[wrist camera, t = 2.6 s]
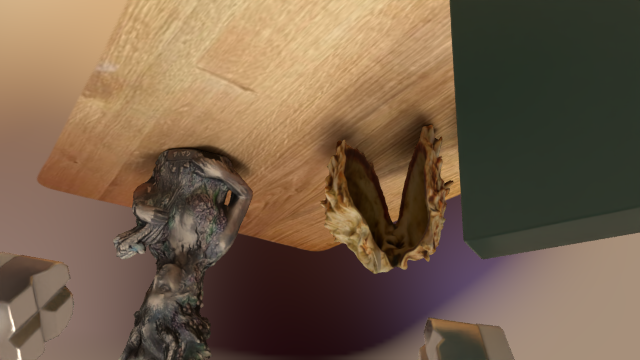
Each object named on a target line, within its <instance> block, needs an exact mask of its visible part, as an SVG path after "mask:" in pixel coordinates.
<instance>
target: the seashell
mask: <svg viewBox="0 0 640 360" xmlns="http://www.w3.org/2000/svg"><path fill="white" fill-rule="evenodd" d="M441 142H442V137H440V139H439V140H438V139H436V138H435V135H434V130H433V125H429V126H423V128H422V131H421V135H420V139H419V142H418V144H417V145H416V147H415V150H414V153H413V156H412V159H411V161H410V163H409V167H408V172H407V176H406V180H405V183H404V188H403V193H402V200H401V206H400V211H399V218H398V221H397V223H396V224H393V222H392V221H391V218H390V216H389V212H388V207H387V205H386V201H385V197H384V195H383V192H382V189H381V187H380V184H379V179H378V177H377V175H376V173H375V170H374V168H373V163H369V162H368V161H367V160H366V158H365V156H364V154H363V153H360V152H359V150H358V149H357V148H356V149H354V148H352V147H350V146H348V145H346V141H345V140H343V142H342V141H341V140H339V141H338V142H337V146H336V153H337V154H336V155H334V156H332V157H331V159H330V162H329V164H328V166H327V167H328V170H329V176H328V177H326V179H325V183H326V187H325V192H326V193H325V194H326V200H324V201H320V202H321V205H322V206H323V207H324V208H325V209H326V212H325V215H326V219H325V224H324V226H325V227H327V228H329V232H330V234H333V237H336V238H335V240H334V242H341V243H346V244H347V246H348V247H349V249H351V250H352V251H353V252H355V254H356V256H357V257H358V259H359V260H360V261H361V262H362V263H363V265H364V266H365V267H366V268H368V269H369V270H370V271H372V272H373V273H378V272H388V271H389V270H391V269H392V268H394V267H401V268H402V269H406V268H407V261H408V260H419V259H422V258H425V259H426V260H427V261H429V255H431V254H433V253H434V252H435V251H436V247H437V246H438V245H439V239H440V234H441V229H442V228H443V223H444V221H445V218H444V217H443V216H444V211H445V209H446V205H447V204H446V201H445V197H446V196H447V195H448V194H449V191H450V188H449V187H450V186H451V185H452V184H453V181H451V180H450V181H448V182H446V183H444V181H443V180H442V179H441V177H440V172H441V166H442V163H443V161H442V159H441V158H442V156H441V157H438V156H439V152H440V147H441Z"/></svg>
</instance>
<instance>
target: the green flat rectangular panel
mask: <svg viewBox="0 0 640 360" xmlns="http://www.w3.org/2000/svg"><path fill="white" fill-rule="evenodd" d="M450 16H451V33H452V50H453V67H454V85H455V102H456V119H457V136H458V153H459V170H460V187H461V204H462V221H463V238H464V242H465V243H467V245H468V246H469V247H470V248H471V249H472V250H473V251H474V252H475V253H476V254H477V255H478V256H479V257H480V258H481V259H488V258H494V257H500V256H506V255H512V254H518V253H523V252H529V251H535V250H540V249H546V248H552V247H558V246H564V245H570V244H576V243H582V242H587V241H593V240H599V239H605V238H610V237H616V236H622V235H627V234H633V233H640V0H450Z"/></svg>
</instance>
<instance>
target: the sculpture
mask: <svg viewBox="0 0 640 360" xmlns="http://www.w3.org/2000/svg"><path fill="white" fill-rule="evenodd" d="M229 190H231V191H232V193H231V198H230V203H229V204H228V206H227V205H224V203H225V199H226V196H227V192H228V191H229ZM252 196H253V191H252V190H251V189H250V187H249V186H248V185H247V184H246V183H245V181H244V180H243V179H242V178H241V177H240V175H239V174H238V173H237V172H236V171H235V169H234V168H233V166H232V164H231V162H230V160H229V159H228V158H227V157H225V156H221V155H217V154H213V153H208V152H204V151H199V150H193V149H174V150H168V151H165V152H163V153H161V154H160V156H159V157H158V160H157V161H156V167H155V168H154V170H153V175H152V177H151V178H150V179H149V180H148V181H147V182H145V183H143V184H142V185H140V186H138V187H137V188H136V190H135V191H134V194H133V205H132V209H133V214H134V215H135V216H136V218H137V219H136V223H137V226H136V227H135V228H133V229H131V230H129V231H126V232H124V233H122V234H119V235H118V236H117V237H116V238H115V239H114V240H113V241H114V246H115V248H116V249H117V257H120V258H121V259H127V258H130V257H131V256H133V255H135V254H136V253H139V254H141V253H145V251H146V247H147V246H148V245H149V250H150V251H151V254H152V255H153V256H154V258H155V259H157V262H156V264H157V274H156V276H155V278H154V280H153V282H152V284H151V286H150V287H149V289H148V291H147V293H146V296H145V299H144V302H143V304H142V306H141V308H140V311H137V312H135V314H134V317H135V323H134V324H135V327H134V329H133V330H132V331H131V334H130V337H129V339H128V342H127V345H126V348H125V349H124V351H123V353H122V355H121V356H120V358H119V360H208V359H209V358H210V356H212V355H211V352H210V349H209V347H208V345H207V343H206V339H207V338H209V337H210V334H211V333H210V326H211V325H210V323H209V321H208V319H207V318H204V317H201V315H200V313H199V311H200V308H201V307H202V306H203V303H202V298H203V290H202V288H203V279H204V275H205V270H206V269H208V268H209V267H211V266H213V265H214V264H215V263H216V262H217V260H219V259H220V258H221V257H222V256H223V255H224V254H225V253H226V252H227V251H228V250H229V249H230V247H231V245H232V244H233V242H234V239H235V238H236V236H237V233H238V231H239V228H240V225H241V223H242V221H243V219H244V217H245V215H246V213H247V210H248V208H249V205H250V202H251V200H252Z"/></svg>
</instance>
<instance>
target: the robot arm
mask: <svg viewBox="0 0 640 360" xmlns="http://www.w3.org/2000/svg"><path fill="white" fill-rule="evenodd" d="M69 279H70V274H69V269H68V266H67V265H66V264H64V263H63V262H59V261H53V260H47V259H41V258H36V257H30V256H24V255H17V254H11V253H5V252H0V360H37V359H38V358H39V357H40V356H41V355H42V353H43V352H44V351H45V342H47V341H49V340H51V339H53V338H55V337H57V336H59V335H60V334H61V333H62V331H63V330H64V329H65V328H66V327H67V325H68V323H69V321H70V318H71V316H72V314H73V307H74V306H73V305H74V301H73V294H72V293H71V292H70V291H69V289H68V288H67V287H66V286H65V285H66V283H67V282H68V281H69ZM424 338H425V345H424V346H422V347H421V348H420V350H419V355H418V360H514V357H513V354H512V352H511V349H510V347H509V344H508V341H507V339H506V337H505V334H504V331H503V329H501V328H500V327H499V326H491V325H483V324H470V323H463V322H456V321H449V320H442V319H435V318H428V320H427V322H426V326H425V329H424Z"/></svg>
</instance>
